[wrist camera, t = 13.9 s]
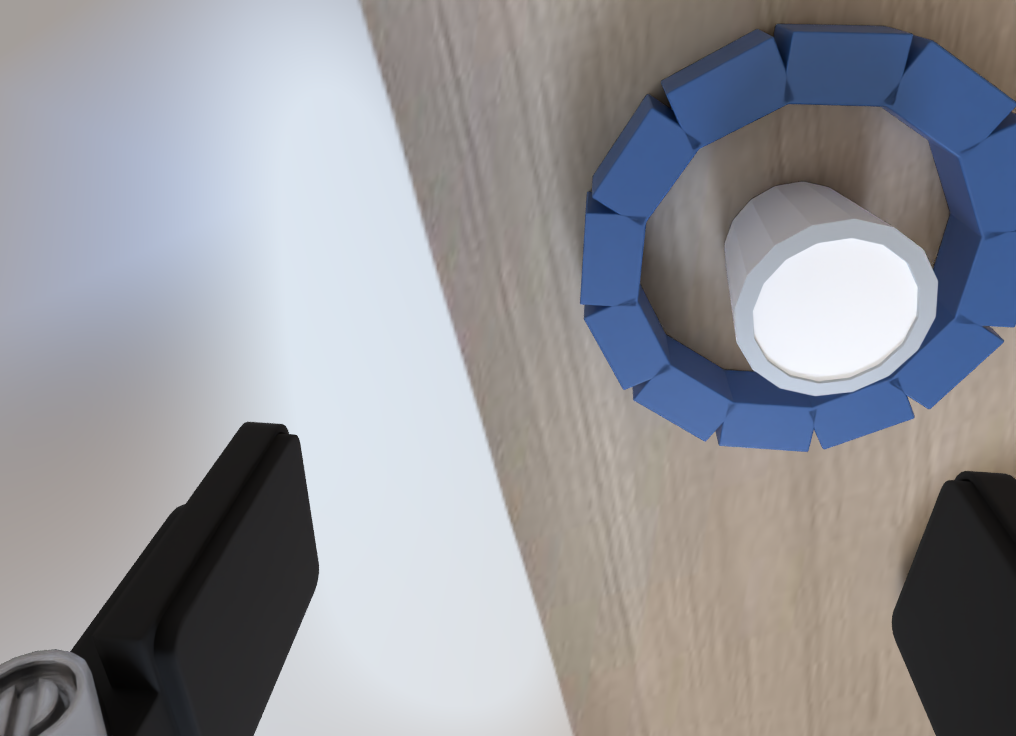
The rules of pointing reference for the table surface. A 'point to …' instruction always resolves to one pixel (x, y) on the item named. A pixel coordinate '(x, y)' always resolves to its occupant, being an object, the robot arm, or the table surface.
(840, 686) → the table surface
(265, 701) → the robot arm
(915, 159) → the table surface
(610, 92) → the table surface
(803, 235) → the white cylinder
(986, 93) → the ring
